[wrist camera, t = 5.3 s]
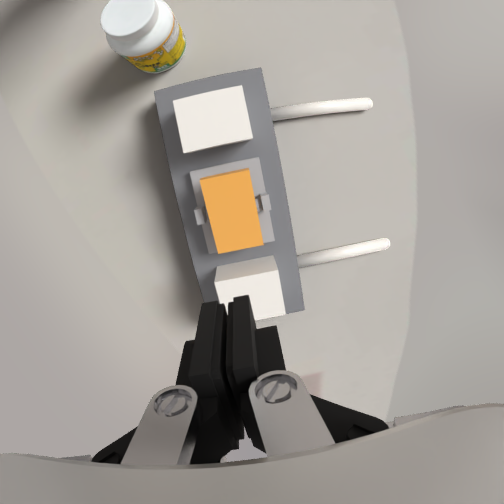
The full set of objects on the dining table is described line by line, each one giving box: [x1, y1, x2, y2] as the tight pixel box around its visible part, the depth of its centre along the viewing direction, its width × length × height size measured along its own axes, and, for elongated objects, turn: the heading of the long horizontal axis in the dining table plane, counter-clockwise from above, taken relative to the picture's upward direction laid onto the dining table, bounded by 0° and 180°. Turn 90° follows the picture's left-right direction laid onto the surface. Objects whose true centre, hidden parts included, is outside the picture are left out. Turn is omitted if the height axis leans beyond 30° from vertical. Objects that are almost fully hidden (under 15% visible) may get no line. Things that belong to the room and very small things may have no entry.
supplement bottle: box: [100, 0, 186, 73], centre depth 20 cm, size 5×5×10 cm
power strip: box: [154, 68, 390, 320], centre depth 26 cm, size 22×19×6 cm
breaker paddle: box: [200, 168, 264, 254], centre depth 24 cm, size 6×4×1 cm, turn 11°
